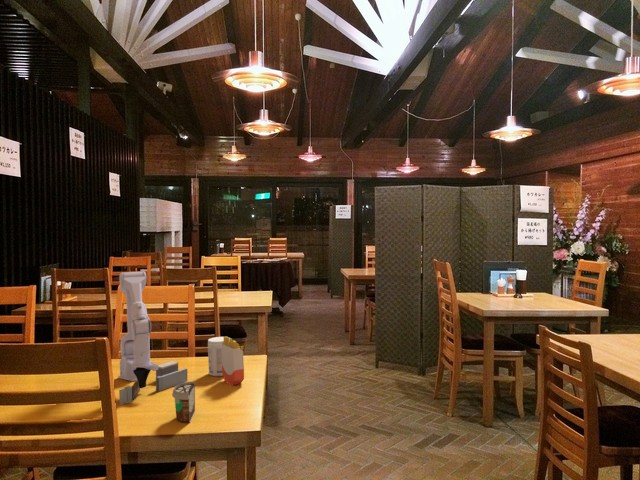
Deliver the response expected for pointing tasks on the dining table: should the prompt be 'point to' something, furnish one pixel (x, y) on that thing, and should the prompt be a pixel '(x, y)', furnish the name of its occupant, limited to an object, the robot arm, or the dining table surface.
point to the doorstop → (167, 368)
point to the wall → (157, 384)
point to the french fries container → (232, 362)
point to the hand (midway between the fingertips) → (142, 387)
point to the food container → (184, 401)
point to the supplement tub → (215, 355)
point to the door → (135, 389)
